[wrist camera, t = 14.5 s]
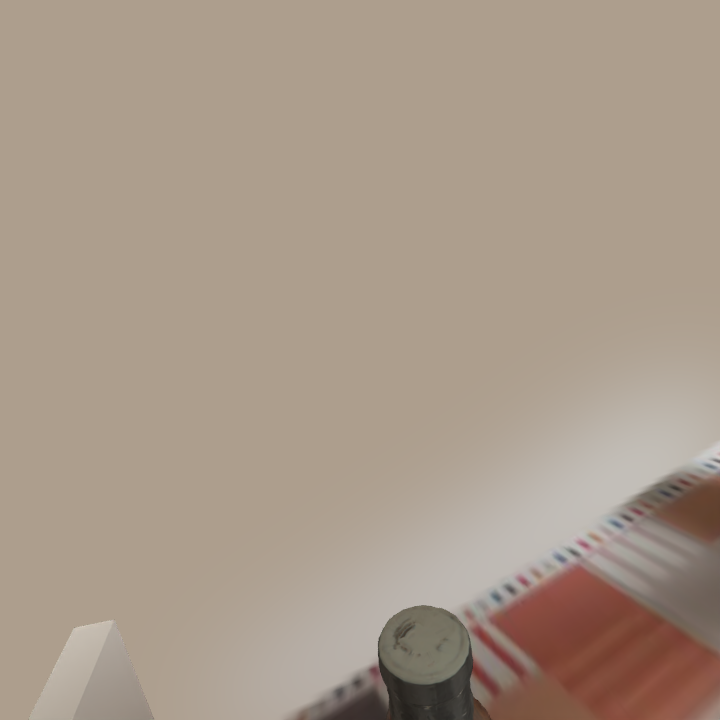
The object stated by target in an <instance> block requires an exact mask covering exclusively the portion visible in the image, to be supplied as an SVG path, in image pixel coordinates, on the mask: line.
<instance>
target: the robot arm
mask: <svg viewBox="0 0 720 720" xmlns="http://www.w3.org/2000/svg"><path fill="white" fill-rule="evenodd" d="M28 720H154V718H153V716H152V713H151V711H150V708H149V705H148V703H147V700H146V698H145V695H144V693H143V691H142V688H141V685H140V683H139V680H138V678H137V675H136V673H135V670H134V668H133V665H132V663H131V660H130V658H129V655H128V653H127V650H126V648H125V646H124V643H123V640H122V638H121V635H120V633H119V630H118V628H117V625H116V622H115V620H110V621H105V622H100V623H95V624H90V625H85V626H80V627H75V628H74V629H73V631H72V633H71V635H70V637H69V639H68V641H67V644H66V645H65V647H64V650H63V651H62V654H61V655H60V657H59V659H58V661H57V663H56V665H55V667H54V670H53V671H52V673H51V675H50V677H49V679H48V681H47V683H46V685H45V687H44V690H43V691H42V694H41V695H40V698H39V699H38V701H37V703H36V705H35V707H34V709H33V711H32V713H31V715H30V717H29V719H28Z"/></svg>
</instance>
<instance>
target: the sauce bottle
mask: <svg viewBox="0 0 720 720" xmlns="http://www.w3.org/2000/svg"><path fill="white" fill-rule="evenodd" d="M378 657H379V668H380V672H381V675H382V678H383V681H384V683H385V684H386V686H387V691H388V694H389V710H388V713H387V717H386V720H491V718H490V716H489V714H488V712H487V711H486V710H485V708H484V707H483V706H482V705H481V703H480V702H479V701H478V700H476V699H475V698H474V697H473V694H472V692H471V689H470V676H471V673H472V669H473V657H472V650H471V644H470V639H469V635H468V632H467V630H466V628H465V627H464V626H463V624H462V623H461V622H460V621H459V620H458V618H457V617H456V616H455V615H453V614H452V613H450V612H448V611H447V610H444V609H442V608H435V607H432V606H424V605H422V606H415V607H412V608H408V609H405V610H402V611H401V612H399V613H397V614H396V615H394V616H393V617H392V618H391V619H389V621H388V622H387V624H386V625H385V627H384V628H383V630H382V633H381V635H380V637H379V641H378Z"/></svg>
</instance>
